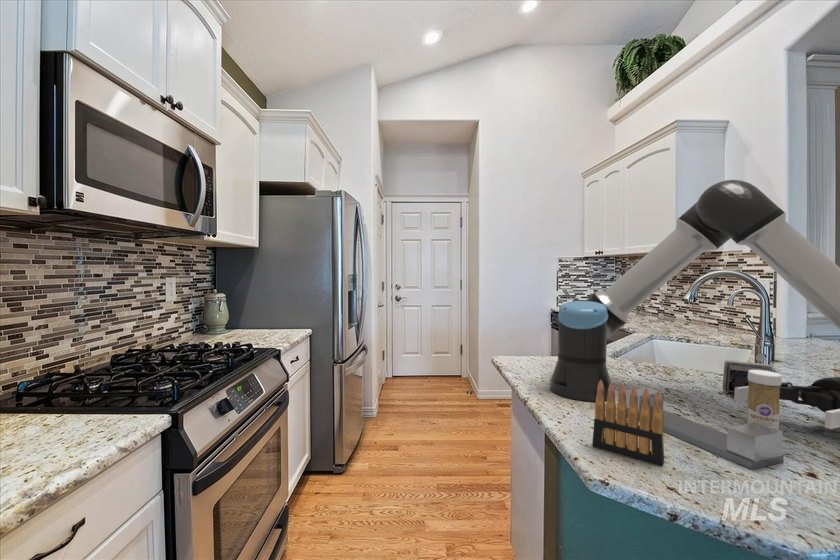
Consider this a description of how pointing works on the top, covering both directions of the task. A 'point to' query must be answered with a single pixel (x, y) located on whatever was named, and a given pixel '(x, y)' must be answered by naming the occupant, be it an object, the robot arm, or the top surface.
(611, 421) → the ammunition clip
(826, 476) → the top surface
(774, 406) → the sprinkles bottle
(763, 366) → the electrical switch
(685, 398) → the top surface
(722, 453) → the rail
